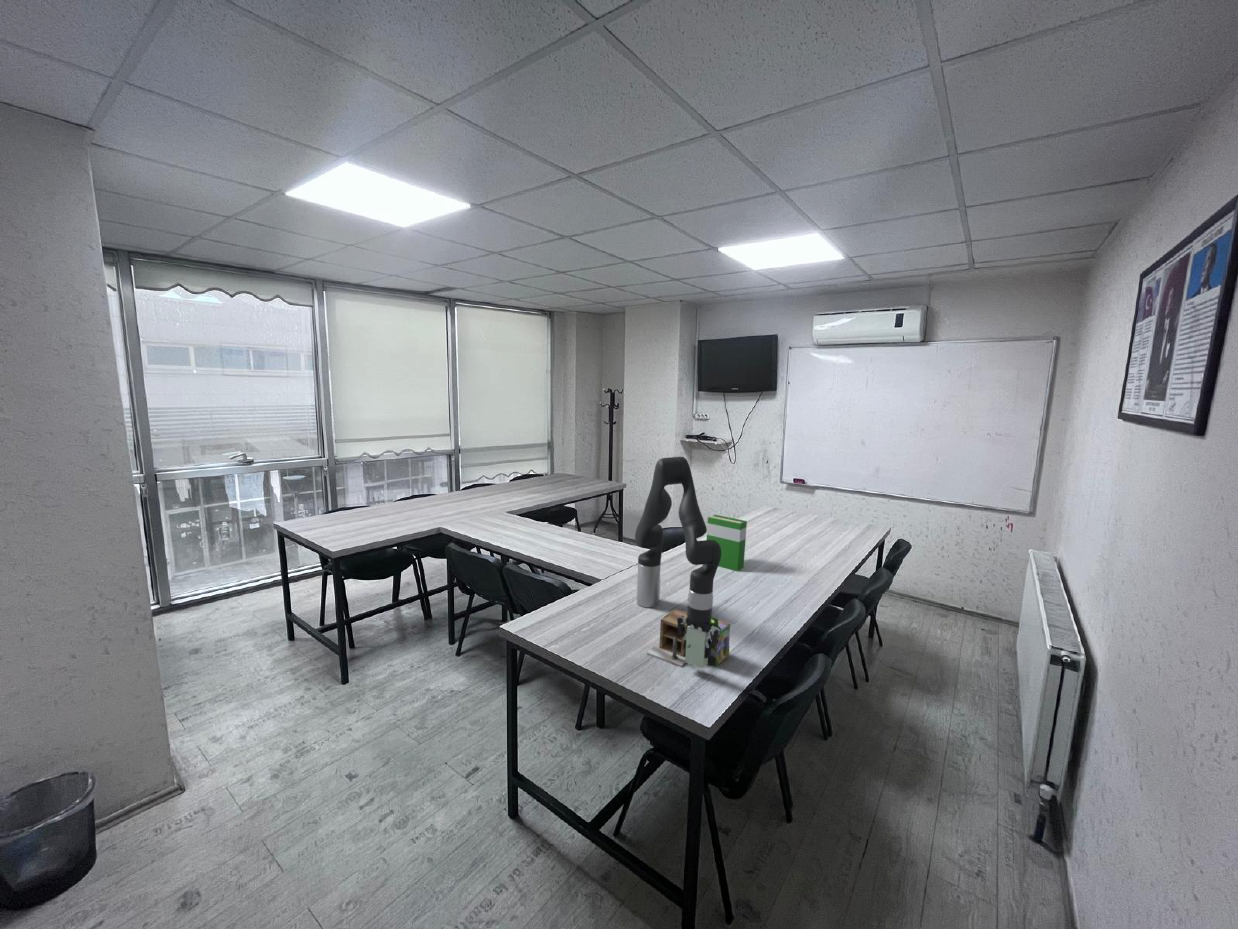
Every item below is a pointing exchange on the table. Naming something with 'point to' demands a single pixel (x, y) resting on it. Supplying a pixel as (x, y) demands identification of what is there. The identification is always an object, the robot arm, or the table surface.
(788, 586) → the table surface
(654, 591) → the robot arm
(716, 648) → the chalk box
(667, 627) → the small wooden cupboard
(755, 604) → the table surface
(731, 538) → the hardback book
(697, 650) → the hollow square pipe
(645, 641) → the table surface
